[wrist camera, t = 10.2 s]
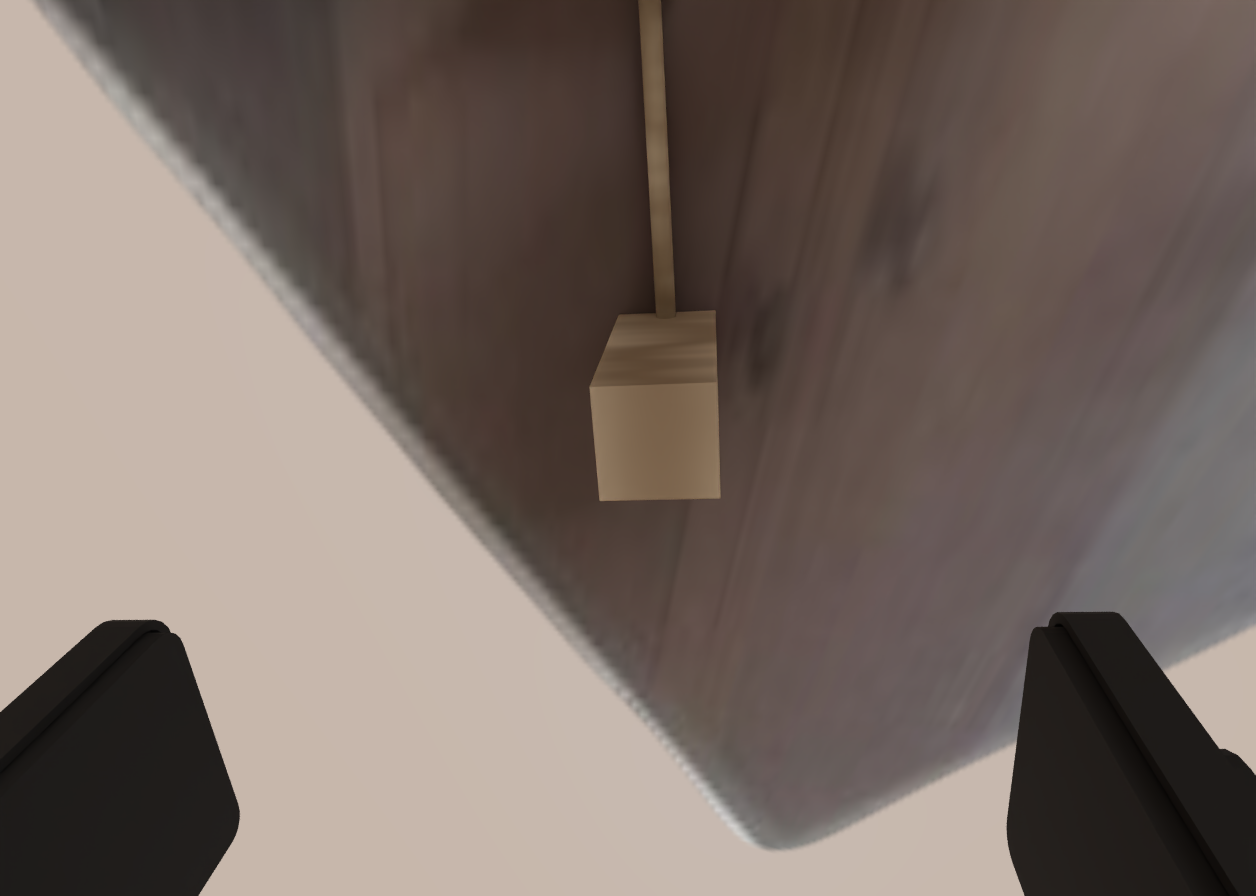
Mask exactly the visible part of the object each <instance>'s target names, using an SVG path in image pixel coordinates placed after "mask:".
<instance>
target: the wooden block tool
mask: <svg viewBox="0 0 1256 896" xmlns="http://www.w3.org/2000/svg"><path fill="white" fill-rule="evenodd" d="M638 3H639V21H640V38H641V56H642V74H643V92H644V109H645V127H646V145H647V163H648V180H649V198H650V216H651V234H652V251H653V269H654V287H655V305H656V313H644V314H622V315H618V318H617V320H616V323H615V325H614V328H613V330H612V332H611V335H610V337H609V340H608V342H607V345H606V347H605V350H604V352H603V355H602V357H601V360H600V362H599V365H598V367H597V370H596V372H595V374H594V377H593V379H592V382H591V384H590V387H589V388H590V399H591V410H592V421H593V433H594V444H595V455H596V466H597V477H598V488H599V500H600V501H621V500H667V499H713V498H720V459H719V414H718V377H717V343H716V310H711V311H689V312H676V307H675V286H674V265H673V244H672V223H671V202H670V181H669V160H668V138H667V117H666V96H665V75H664V54H663V33H662V12H661V0H638Z"/></svg>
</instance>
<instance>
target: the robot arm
mask: <svg viewBox="0 0 1256 896" xmlns="http://www.w3.org/2000/svg"><path fill="white" fill-rule="evenodd" d="M239 817H240V811H239V806H238V802H237V799H236V796H235V794H234V791H233V788H232V785H231V782H230V779H229V776H228V773H227V770H226V767H225V764H224V761H223V759H222V756H221V753H220V750H219V747H218V744H217V741H216V738H215V736H214V732H213V729H212V727H211V724H210V721H209V718H208V715H207V712H206V709H205V706H204V703H203V700H202V698H201V695H200V692H199V689H198V686H197V683H196V680H195V677H194V674H193V671H192V668H191V665H190V663H189V660H188V657H187V654H186V651H185V648H184V645H183V643H182V641H181V639H180V638H179V637H178V636H177V635H176V634H174V633H171V632H170V630H169V628H168V627H167V626H166V625H165V624H164V623H162V622H161V621H157V620H112V621H106V622H103V623H102V624H100V625H99V626H97V627H96V628H94V629H93V630H92V631H91V632H90V633H89V634H88V635H87V636H85V638H83V639H82V640H81V641H80V642H79V643H78V644H77V645H75V646H74V647H73V648H72V649H71V650H70V651H69V652H67V653H66V654H65V655H64V656H63V657H62V658H61V659H60V660H59V661H57V662H56V663H55V664H54V665H53V666H52V667H51V668H49V669H48V670H47V671H46V672H45V673H44V674H43V675H42V676H40V677H39V678H38V679H37V680H36V681H35V682H34V683H33V684H32V685H30V686H29V687H28V688H27V689H26V690H25V691H24V692H23V693H22V694H20V695H19V696H18V697H17V698H16V699H15V700H14V701H12V702H11V703H10V704H9V705H8V706H7V707H6V708H5V709H4V710H2V711H1V712H0V896H198V895H199V894H200V892H201V891H202V889H203V887H204V886H205V884H206V882H207V881H208V879H209V878H210V876H211V875H212V873H213V872H214V870H215V868H216V867H217V865H218V864H219V862H220V861H221V859H222V857H223V856H224V854H225V853H226V851H227V850H228V848H229V846H230V845H231V843H232V842H233V840H234V837H235V836H236V833H237V829H238V825H239V819H240V818H239ZM1007 840H1008V847H1009V851H1010V855H1011V859H1012V862H1013V865H1014V868H1015V871H1016V873H1017V876H1018V879H1019V882H1020V884H1021V887H1022V890H1023V892H1024V895H1025V896H1256V775H1255V774H1254V773H1253V772H1252V770H1251V769H1250V768H1249V767H1248V766H1247V764H1246V763H1245V762H1244V761H1243V760H1242V759H1241V758H1240V757H1239V756H1238V755H1236V754H1234V753H1232V752H1230V751H1228V750H1226V749H1219V748H1218V746H1217V745H1216V744H1215V742H1214V741H1213V740H1212V738H1211V737H1210V735H1209V734H1208V733H1207V731H1206V730H1205V729H1204V727H1203V726H1202V724H1201V723H1200V722H1199V720H1198V719H1197V718H1196V716H1195V715H1194V714H1193V713H1192V711H1191V709H1190V708H1189V707H1188V706H1187V704H1186V703H1185V701H1184V700H1183V698H1182V697H1181V696H1180V694H1179V693H1178V692H1177V690H1176V689H1175V688H1174V686H1173V685H1172V684H1171V682H1170V681H1169V679H1168V678H1167V677H1166V675H1165V674H1164V673H1163V671H1162V670H1161V668H1160V667H1159V666H1158V664H1157V663H1156V662H1155V660H1154V659H1153V657H1152V656H1151V655H1150V653H1149V652H1148V651H1147V649H1146V648H1145V647H1144V645H1143V644H1142V642H1141V641H1140V640H1139V638H1138V637H1137V636H1136V634H1135V633H1134V631H1133V630H1132V629H1131V627H1130V626H1129V625H1128V623H1127V622H1126V621H1125V619H1124V618H1123V617H1122V616H1121V615H1120V614H1118V613H1115V612H1057V613H1055V614H1053V615H1052V617H1051V619H1050V621H1049V625H1048V627H1036V628H1034V629H1033V631H1032V633H1031V637H1030V643H1029V651H1028V659H1027V667H1026V675H1025V682H1024V690H1023V698H1022V706H1021V714H1020V722H1019V729H1018V737H1017V745H1016V753H1015V761H1014V769H1013V777H1012V784H1011V792H1010V800H1009V808H1008V817H1007Z"/></svg>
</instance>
